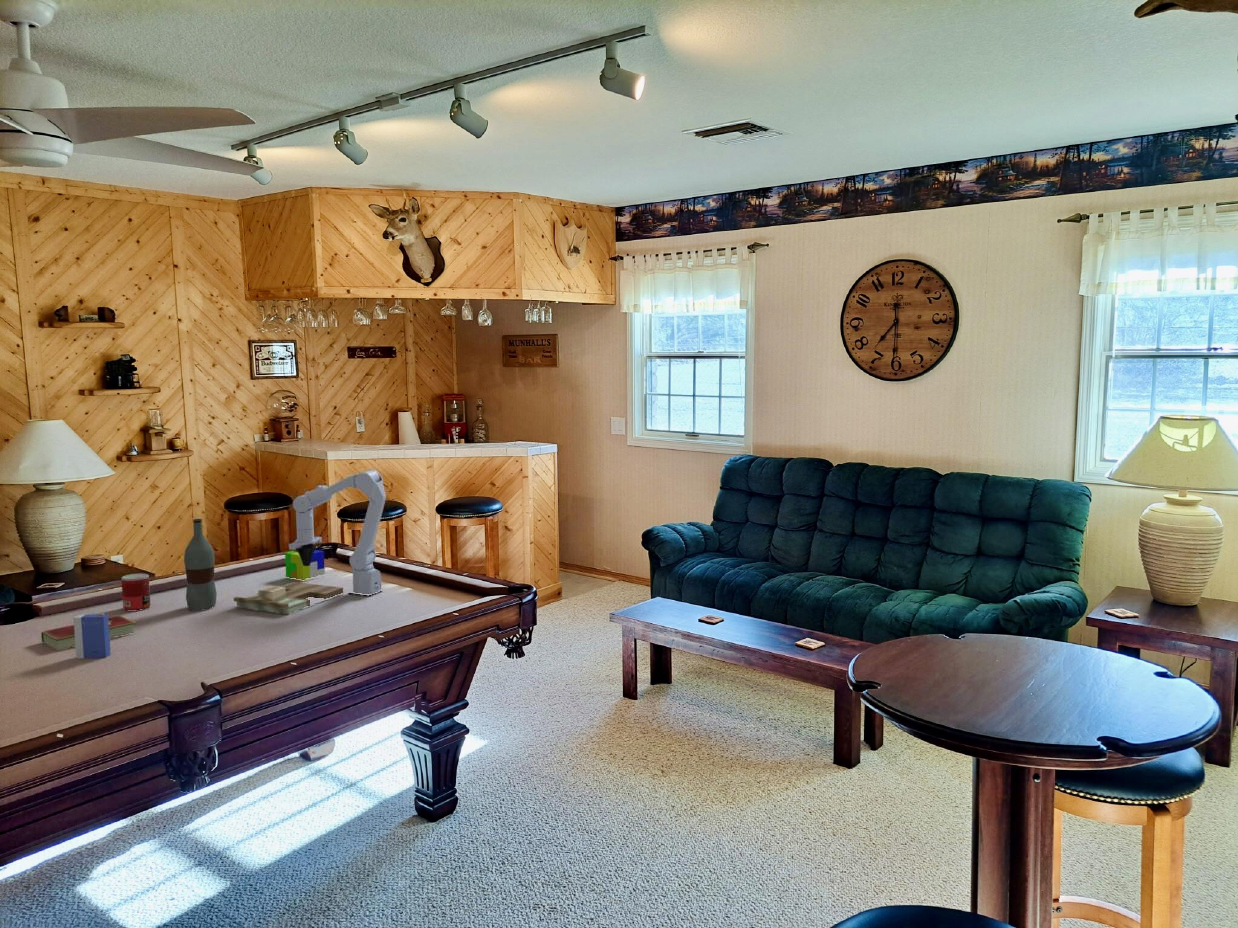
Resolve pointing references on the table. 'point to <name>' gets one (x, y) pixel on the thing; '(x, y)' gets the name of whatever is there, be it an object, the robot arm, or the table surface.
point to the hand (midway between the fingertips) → (306, 565)
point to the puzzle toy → (302, 572)
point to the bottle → (200, 571)
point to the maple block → (272, 594)
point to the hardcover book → (66, 635)
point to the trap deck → (289, 598)
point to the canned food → (136, 591)
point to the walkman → (92, 636)
